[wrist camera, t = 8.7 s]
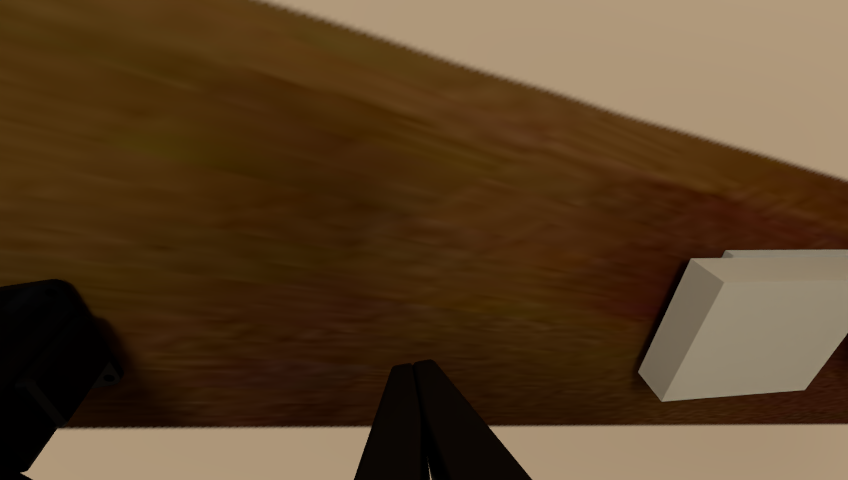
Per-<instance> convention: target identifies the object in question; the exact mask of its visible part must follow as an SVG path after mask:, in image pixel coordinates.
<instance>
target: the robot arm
mask: <svg viewBox="0 0 848 480" xmlns="http://www.w3.org/2000/svg"><path fill="white" fill-rule="evenodd" d="M52 289H54V290H56V291H57V292H58V293H57V292H54V291H53V290H52ZM123 374H124V372H123V370H122V368H121V367H120V365H119V364H118V362H117V360H116V359H115V357H114V356H113V354H112V353H111V351H110V350H109V348H108V346H107V345H106V343H105V342H104V340H103V339H102V337H101V336H100V334H99V332H98V331H97V329H96V328H95V326H94V325H93V323H92V322H91V320H90V319H89V317H88V315H87V314H86V312H85V311H84V309H83V308H82V306H81V305H80V303H79V301H78V300H77V298H76V297H75V295H74V294H73V292H72V291H71V289H70V287H69V286H68V285H67V284H66V283H65V282H63V281H61V280H57V279H50V280H43V281H37V282H30V283H23V284H17V285H10V286H3V287H0V480H32V479H30V478H29V477H27V476H25V475H23V474H21V472H25V471H27V470H28V469H29V468H30V467H31V465H32V464H33V462H34V461H35V459H36V458H37V457H38V455H39V454H40V452H41V451H42V449H43V448H44V447H45V445H46V444H47V442H48V441H49V440H50V438H51V437H52V435H53V434H54V432H55V431H56V430H57V428H62V427H64V426H65V425H66V424H67V423H68V421H69V420H70V418H71V417H72V415H73V414H74V412H75V411H76V409H77V408H78V407H79V405H80V404H81V402H82V401H83V399H84V398H85V396H86V395H87V393H88V392H89V391H90V389H92V388H98V387H104V386H109V385H114V384H117V383H118V382H120V380H121V378H122V377H123ZM427 458H428V459H427ZM428 464H429V466H428ZM429 469H430V474H431V478H432V480H532V479H531V478H530V477H529V475H528V474H527V473H526V472H525V470H524V469H523V468H522V467H521V466H520V465H519V463H518V462H517V461H516V460H515V459H514V457H513V456H512V455H511V454H510V452H509V451H508V450H507V449H506V447H504V445H503V444H502V443H501V441H500V440H499V439H498V438H497V437H496V435H495V434H494V433H493V432H492V430H491V429H490V428H489V427H488V426H487V424H486V423H485V422H484V421H483V419H482V418H481V417H480V416H479V415H478V413H477V412H476V411H475V410H474V409H473V407H472V406H471V405H470V404H469V402H468V401H467V400H466V399H465V398H464V396H463V395H462V394H461V393H460V392H459V390H458V389H457V388H456V387H455V386H454V384H453V383H452V382H451V381H450V379H449V378H448V377H447V376H446V375H445V373H444V372H443V371H442V370H441V369H440V367H439V366H438V365H437V364H436V362H435V361H433V360H431V359H429V360H424V361H418V362H415V363H414V365H412V364H411V363H407V364H401V365H396V366H393V367H392V369H391V372H390V375H389V378H388V380H387V383H386V386H385V389H384V392H383V395H382V398H381V401H380V404H379V407H378V410H377V413H376V416H375V419H374V422H373V425H372V428H371V431H370V434H369V437H368V440H367V443H366V445H365V448H364V451H363V454H362V457H361V460H360V463H359V466H358V469H357V473H356V475H355V478H354V480H430V474H429Z"/></svg>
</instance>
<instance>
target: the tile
mask: <svg viewBox="0 0 848 480" xmlns="http://www.w3.org/2000/svg"><path fill="white" fill-rule="evenodd" d="M847 333H848V259H847V258H845V257H799V258H691V260H690V262H689V264H688V266H687V268H686V270H685V272H684V275H683V277H682V279H681V281H680V283H679V285H678V287H677V290H676V292H675V294H674V296H673V298H672V300H671V302H670V305H669V307H668V309H667V311H666V313H665V315H664V318H663V320H662V322H661V324H660V326H659V328H658V330H657V333H656V335H655V337H654V339H653V341H652V343H651V345H650V348H649V350H648V352H647V354H646V356H645V358H644V360H643V363H642V365H641V367H640V369H639V371H638V373H639V374H640V375H641V377H642V378H643V379H644V380H645V382H646V383H647V384H648V385H649V387H650V388H651V389H652V390H653V392H654V393H655V394H656V395H657V397H658V398H659V399H660V400H661V401H673V400H686V399H698V398H711V397H723V396H735V395H748V394H760V393H772V392H785V391H797V390H805V389H806V388H807V386H808V385H809V384H810V382H811V381H812V380H813V378H814V377H815V376H816V374H817V373H818V372H819V370H820V369H821V368H822V366H823V365H824V364H825V362H826V361H827V360H828V359H829V357H830V356H831V355H832V353H833V352H834V351H835V349H836V348H837V347H838V345H839V344H840V343H841V341H842V340H843V339H844V337H845V336H846V335H847Z"/></svg>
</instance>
